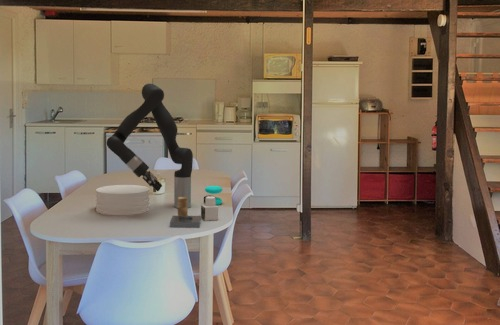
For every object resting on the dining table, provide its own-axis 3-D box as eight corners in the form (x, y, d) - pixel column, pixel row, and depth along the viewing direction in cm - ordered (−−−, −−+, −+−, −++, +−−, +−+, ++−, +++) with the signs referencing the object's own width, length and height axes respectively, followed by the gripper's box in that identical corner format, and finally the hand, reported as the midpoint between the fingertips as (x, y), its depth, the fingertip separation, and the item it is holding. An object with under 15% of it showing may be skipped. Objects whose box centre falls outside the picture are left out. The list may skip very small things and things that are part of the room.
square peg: (177, 217, 286) (177, 198, 285) (178, 215, 291) (178, 196, 290) (186, 217, 286) (186, 198, 285) (187, 215, 291) (187, 197, 290)
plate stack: (155, 205, 316) (155, 185, 314) (140, 216, 288) (140, 194, 287) (107, 203, 318) (106, 184, 317) (88, 214, 291) (87, 192, 289)
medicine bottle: (200, 218, 287) (201, 195, 285) (214, 217, 289) (214, 194, 288) (204, 221, 280) (204, 197, 278) (218, 220, 282) (218, 196, 281)
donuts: (225, 187, 320) (208, 188, 316) (224, 204, 321) (208, 206, 317) (218, 185, 329) (202, 185, 325) (218, 201, 330) (202, 202, 326)
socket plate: (169, 227, 266) (169, 222, 266) (172, 220, 280) (172, 215, 280) (199, 227, 267) (199, 222, 266) (200, 220, 281) (200, 215, 280)
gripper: (140, 162, 277) (164, 185, 279) (144, 159, 291) (166, 181, 293) (130, 173, 277) (153, 196, 279) (134, 169, 291) (156, 191, 293)
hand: (160, 188), depth 286 cm, fingers open, 8 cm apart
